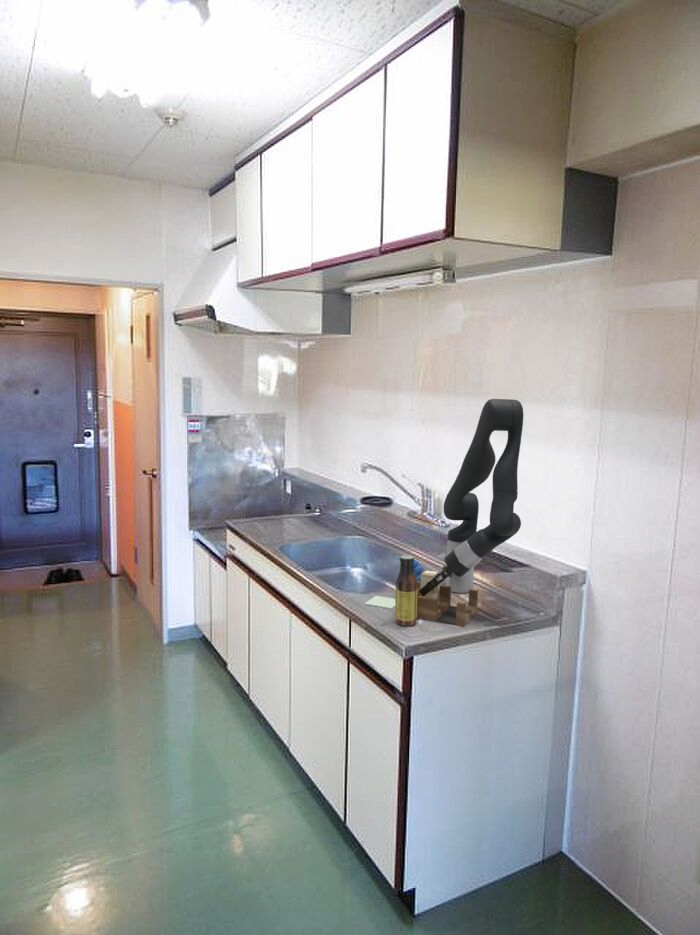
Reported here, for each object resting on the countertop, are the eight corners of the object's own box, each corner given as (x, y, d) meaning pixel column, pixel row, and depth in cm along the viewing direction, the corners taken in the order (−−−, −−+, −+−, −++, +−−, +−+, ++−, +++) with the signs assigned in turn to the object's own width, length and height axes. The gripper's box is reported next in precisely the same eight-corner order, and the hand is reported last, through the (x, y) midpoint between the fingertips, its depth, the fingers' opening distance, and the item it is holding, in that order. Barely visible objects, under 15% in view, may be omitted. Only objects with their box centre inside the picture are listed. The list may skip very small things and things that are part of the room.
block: (424, 601, 207) (426, 570, 205) (438, 604, 205) (440, 572, 204) (419, 606, 202) (420, 574, 201) (434, 608, 200) (435, 576, 199)
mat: (375, 596, 217) (375, 595, 217) (401, 601, 213) (401, 599, 213) (364, 604, 209) (364, 603, 209) (391, 609, 205) (391, 608, 205)
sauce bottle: (403, 617, 198) (405, 552, 195) (420, 622, 194) (423, 556, 191) (390, 623, 193) (392, 556, 190) (408, 628, 189) (410, 560, 186)
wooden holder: (412, 600, 214) (413, 580, 213) (477, 610, 205) (478, 590, 205) (395, 614, 200) (396, 593, 199) (464, 626, 191) (465, 604, 191)
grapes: (433, 597, 218) (434, 561, 217) (416, 599, 215) (417, 563, 213) (412, 587, 228) (413, 553, 227) (396, 590, 225) (397, 555, 223)
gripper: (462, 543, 205) (423, 575, 211) (449, 553, 192) (408, 587, 198) (478, 562, 203) (438, 594, 209) (466, 573, 190) (424, 607, 196)
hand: (424, 591), depth 204 cm, fingers closed on block, 5 cm apart
